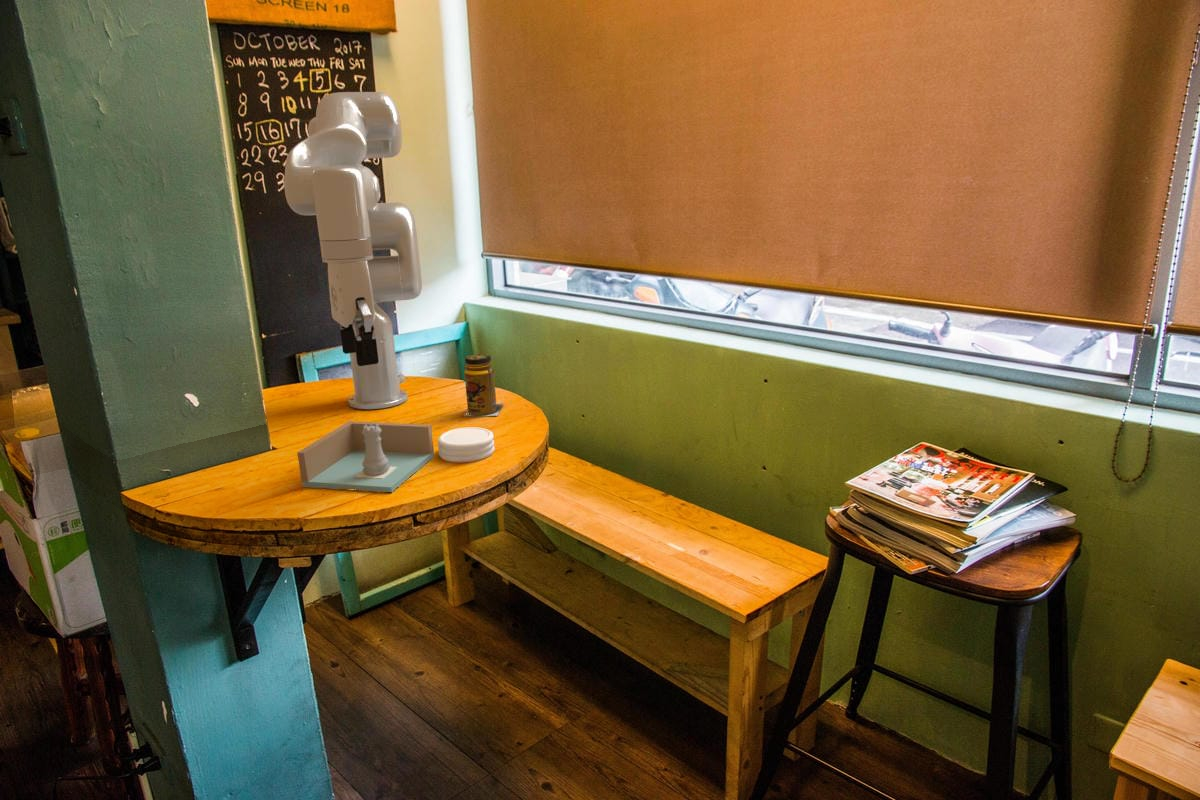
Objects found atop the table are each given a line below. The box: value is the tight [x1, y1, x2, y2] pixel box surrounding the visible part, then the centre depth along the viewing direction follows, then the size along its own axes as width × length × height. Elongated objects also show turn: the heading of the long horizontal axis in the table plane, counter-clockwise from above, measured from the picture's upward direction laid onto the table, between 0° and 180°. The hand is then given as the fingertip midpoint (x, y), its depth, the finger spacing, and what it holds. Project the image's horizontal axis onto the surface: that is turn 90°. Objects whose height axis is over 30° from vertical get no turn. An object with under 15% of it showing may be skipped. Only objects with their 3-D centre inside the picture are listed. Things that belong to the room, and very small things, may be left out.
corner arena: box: [296, 420, 435, 493], centre depth 132 cm, size 16×16×6 cm
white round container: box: [437, 426, 496, 463], centre depth 140 cm, size 10×10×4 cm
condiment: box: [463, 353, 505, 417], centre depth 162 cm, size 7×8×12 cm
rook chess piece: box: [361, 423, 390, 475], centre depth 129 cm, size 4×4×8 cm
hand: (360, 358), depth 125 cm, fingers open, 9 cm apart
